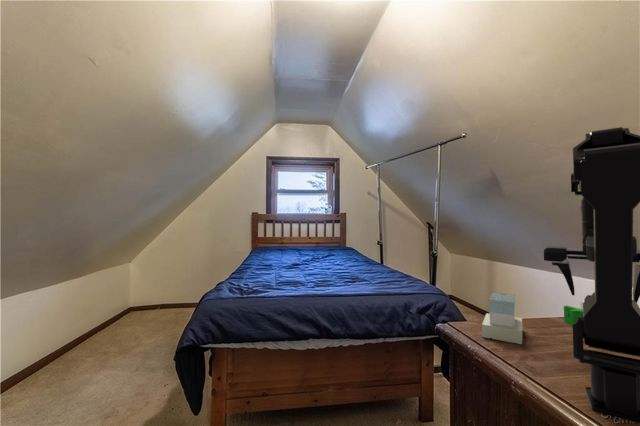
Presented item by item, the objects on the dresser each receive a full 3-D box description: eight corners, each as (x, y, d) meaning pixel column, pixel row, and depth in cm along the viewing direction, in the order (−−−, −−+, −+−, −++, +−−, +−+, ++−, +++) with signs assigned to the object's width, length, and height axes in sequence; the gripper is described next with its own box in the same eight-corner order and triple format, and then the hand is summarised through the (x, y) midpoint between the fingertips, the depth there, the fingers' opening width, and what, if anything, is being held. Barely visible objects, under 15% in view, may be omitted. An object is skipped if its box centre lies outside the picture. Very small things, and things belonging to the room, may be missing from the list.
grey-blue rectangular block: (515, 318, 77) (514, 294, 77) (514, 328, 70) (513, 302, 70) (492, 315, 79) (492, 292, 79) (489, 324, 73) (489, 299, 73)
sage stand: (522, 344, 68) (521, 331, 68) (482, 337, 73) (481, 324, 73) (522, 330, 77) (522, 318, 77) (486, 324, 81) (486, 313, 81)
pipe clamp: (557, 324, 81) (556, 306, 81) (567, 322, 82) (566, 305, 82) (608, 339, 71) (607, 319, 71) (618, 337, 72) (617, 317, 72)
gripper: (540, 223, 62) (543, 299, 61) (681, 222, 50) (684, 318, 49) (544, 221, 70) (546, 289, 70) (664, 221, 58) (667, 302, 58)
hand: (602, 298), depth 61 cm, fingers open, 9 cm apart
